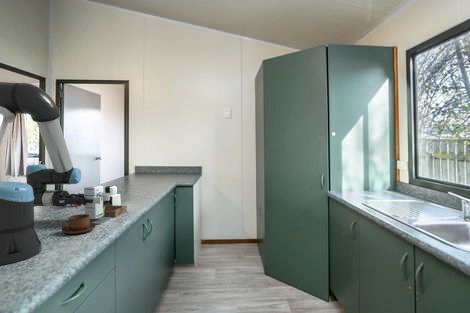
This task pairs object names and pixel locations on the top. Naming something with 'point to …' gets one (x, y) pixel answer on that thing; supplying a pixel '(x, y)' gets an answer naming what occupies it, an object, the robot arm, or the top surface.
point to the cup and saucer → (78, 224)
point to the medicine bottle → (112, 196)
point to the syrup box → (94, 209)
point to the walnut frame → (114, 210)
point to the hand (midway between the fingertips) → (104, 199)
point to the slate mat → (99, 220)
